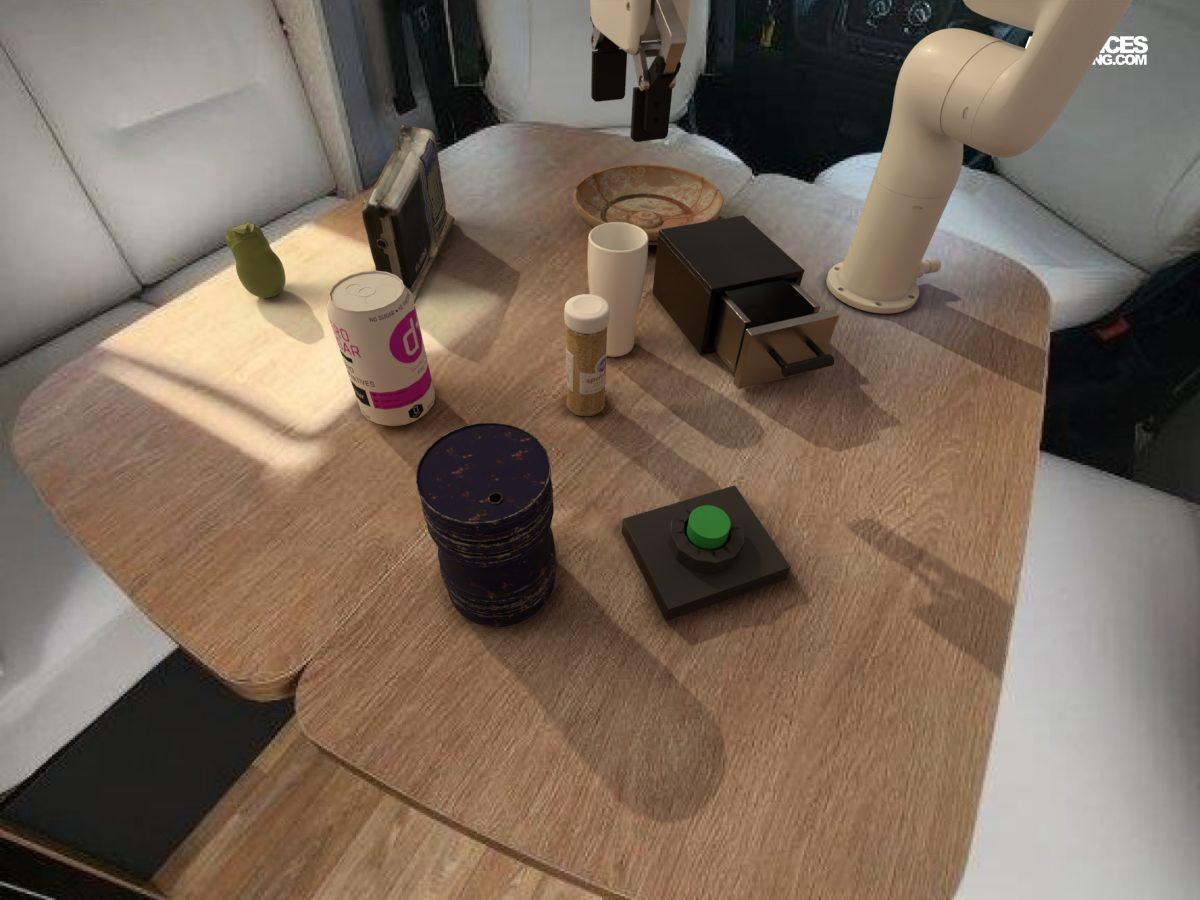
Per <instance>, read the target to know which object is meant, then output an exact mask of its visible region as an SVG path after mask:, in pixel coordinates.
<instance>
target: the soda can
mask: <svg viewBox="0 0 1200 900" xmlns="http://www.w3.org/2000/svg"><path fill="white" fill-rule="evenodd" d="M326 312H327V318H328V320H329V324H330V327H331V330H332V332H333V334H334V338H335V340H336V343H337V346H338V349H339V352H340V354H341V357H342V360H343V363H344V366H345V369H346V372H347V374H348V377H349V381H350V383H351V386H352V388H353V392H354V394H355V397H356V400H357V403H358V405H359V406H358V407H359V408H360V411H361V413H362V414H363V416H364V418H366V419H367V420H368V421H371V422H373V423H375V424H377V425H382V426H388V427H398V426H405V425H408V424H411V423H413V422H417V420H419V419H421V418H422V417H424V416H425V414H427V413H428V412H429V410H430V409H432V407H433V406H434V403H435V399H436V392H435V388H434V384H433V379H432V375H431V370H430V366H429V361H428V357H427V352H426V347H425V344H424V343H425V342H424V339H423V335H422V330H421V326H420V321H419V315H418V313H417V308H416V304H415V301H414V299H413V296H412V293H411V291H410V290H409V289H408V288H407V287H406V286H405V285H404V284H403V282H402V280H401V279H400V278H398V277H397V276H396V275H394V274H391V273H388V272H382V271H376V270H366V271H360V272H355V273H352V274H349V275H347V276H345V277H343V278H341V279H339V280H338V281H337V282H335V283H334V284H333V285H332V286H331V288H330V290H329V292H328V301H327V305H326Z"/></svg>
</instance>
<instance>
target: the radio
mask: <svg viewBox="0 0 1200 900" xmlns="http://www.w3.org/2000/svg"><path fill="white" fill-rule="evenodd" d="M399 132H400V133H399V135H398V136H397V139H396V145H395V146H394V148H393V152H392V153H391V155H390V156H389V157H390V158H389V159H388V160H387V162H386V164H385V165H384V166H383V169H382V172H381V174H380V176H379V178H378V179H377V181H376V182H375V184H374V187H373V188H372V190H371V191H370V193H369V195H368V196H367V197H365V199H364V201H363V203H362V206H361V216H362V222H363V225H364V226H363V227H364V229H365V232H366V236H367V241H368V245H369V249H370V254H371V258H372V261H373V263H374V266H375V267H374V268H375V271H382V272H388V273H391V274H394V275H396V276H397V277H398V278H400V279H401V280H402V282H403V284H404V285H405V286H406V287H407V288H408V289H409V290H410V291H411V293H412V296H413V299H414V302H415V301H416V298H417V297H418V294H419V293H420V291H421V289H422V286H423V284H424V283H425V280H426V279H427V277H428V274H429V272H430V271H431V269H432V267H433V264H434V263H435V261H436V258H437V257H438V255H439V253H440V251H441V248H442V246H443V244H444V243H445V241H446V238H447V237H448V235H449V233H450V231H451V228H452V227H453V225H454V222H455V220H456V219H455V216H453V215H452V214H450V213H449V212H448V211H447V203H446V197H445V192H444V191H445V190H444V185H443V181H442V174H441V173H442V172H441V167H440V166H441V165H440V160H439V154H438V150H437V142H436V141H437V140H436V136H435V133H434V132H433V131H432V130H430V129H427V128H422V127H421V128H419V127H416V126H413V127H412V126H410V125H400V126H399Z"/></svg>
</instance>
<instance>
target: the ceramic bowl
mask: <svg viewBox="0 0 1200 900" xmlns="http://www.w3.org/2000/svg"><path fill="white" fill-rule="evenodd" d="M572 202H573V206H574V209H575V212H576V213H577V214H578V216H579V217H580V219H581V220H582V221H583V222H584V223H585V224H586V225H587V226H588V227H590V228H591V229H593V228H595V227H597V226H599V225H601V224H605V223H611V222H622V223H628V224H632V225H635V226H638V227H640V228H641V229H643V230H644V231H645V232H646V233H647V235H648V246H657V243H658V235H659V229H665V228H671V227H677V226H683V225H688V224H694V223H700V222H706V221H712V220H718V219H719V217H720V215H721V213H722V210H723V206H724V203H725V201H724V196H723V194H722V192H721V190H720V189H719V188H718V187H717V186H716V185H715V184H714V183H713V182H711V181H710V180H709V179H707V178H705V177H704V176H702V175H699V174H697V173H694V172H692V171H690V170H687V169H686V170H685V169H683V168H678V167H673V166H668V165H667V166H666V165H662V164H661V165H660V164H650V163H649V164H644V163H643V164H641V163H638V164H637V163H636V164H635V163H634V164H623V165H617V166H611V167H607V168H604V169H601V170H598V171H595V172H592V173H590V174H588V175H587V176H585V177H584V178H583V179H581V180H580V181H579V182H578V183H577V184H576V186H575V188H574V190H573V193H572Z"/></svg>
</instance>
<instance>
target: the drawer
mask: <svg viewBox="0 0 1200 900" xmlns="http://www.w3.org/2000/svg"><path fill="white" fill-rule="evenodd" d="M820 309H821V305H820V304H819V303H818V302H817V301H816V300H815V299H814V298H813V297H812V296H811V295H810V294H809V293H807V292H806V290H805V289H803V288H802V287H801V285H800V286H799V285H798V284H797V283H796V282H795V281H794V280H792V279H791V278H789V279H784V280H779V281H775V282H770V283H765V284H760V285H755V286H750V287H745V288H740V289H736V290H731V291H726V292H721V293H717V296H716V301H715V306H714V311H713V317H712V322H711V327H710V332H709V338H708V342H709V344H710V345H711V346H712V347H713V349H714V350H715V353H716V354H717V355H718V356H719V357H720V359H721V360H722V362H724V364H725V365H726V366H727V368H728V369H729V370H730V371H731V372H732V374H734V379H733V382H732V383H733V385H734V387H735V388H736V389H737V390H742V389H746V388H749V387H753V386H757V385H762V384H765V383H769V382H773V381H776V380H781V379H785V378H791V377H794V376H799V375H803V374H806V373H810V372H814V371H818V370H823V369H826V368H830V367H833V366H834V365H835V361H836V360H835V357H834V355H833V354H831V353H827V350H828V347H829V344H830V342H831V338H832V336H833V334H834V331H835V328H836V325H837V324H838V321H839V317H840V315H839V313H837V311H836V310H834V309H829V310H824V311H820Z"/></svg>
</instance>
